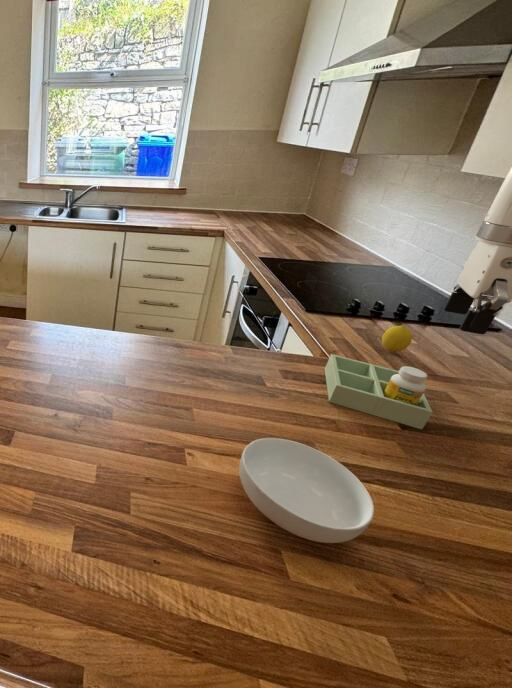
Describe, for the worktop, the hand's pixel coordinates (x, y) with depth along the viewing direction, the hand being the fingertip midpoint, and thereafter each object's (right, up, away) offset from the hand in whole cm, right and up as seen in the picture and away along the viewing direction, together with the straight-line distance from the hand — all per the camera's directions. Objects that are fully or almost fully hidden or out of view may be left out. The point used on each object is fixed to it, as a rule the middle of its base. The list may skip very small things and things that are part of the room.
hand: (462, 321), depth 77 cm
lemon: (+18, -10, +32) cm, 38 cm away
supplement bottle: (-4, -19, +9) cm, 22 cm away
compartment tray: (-5, -18, +14) cm, 23 cm away
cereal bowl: (-42, -30, -12) cm, 53 cm away
